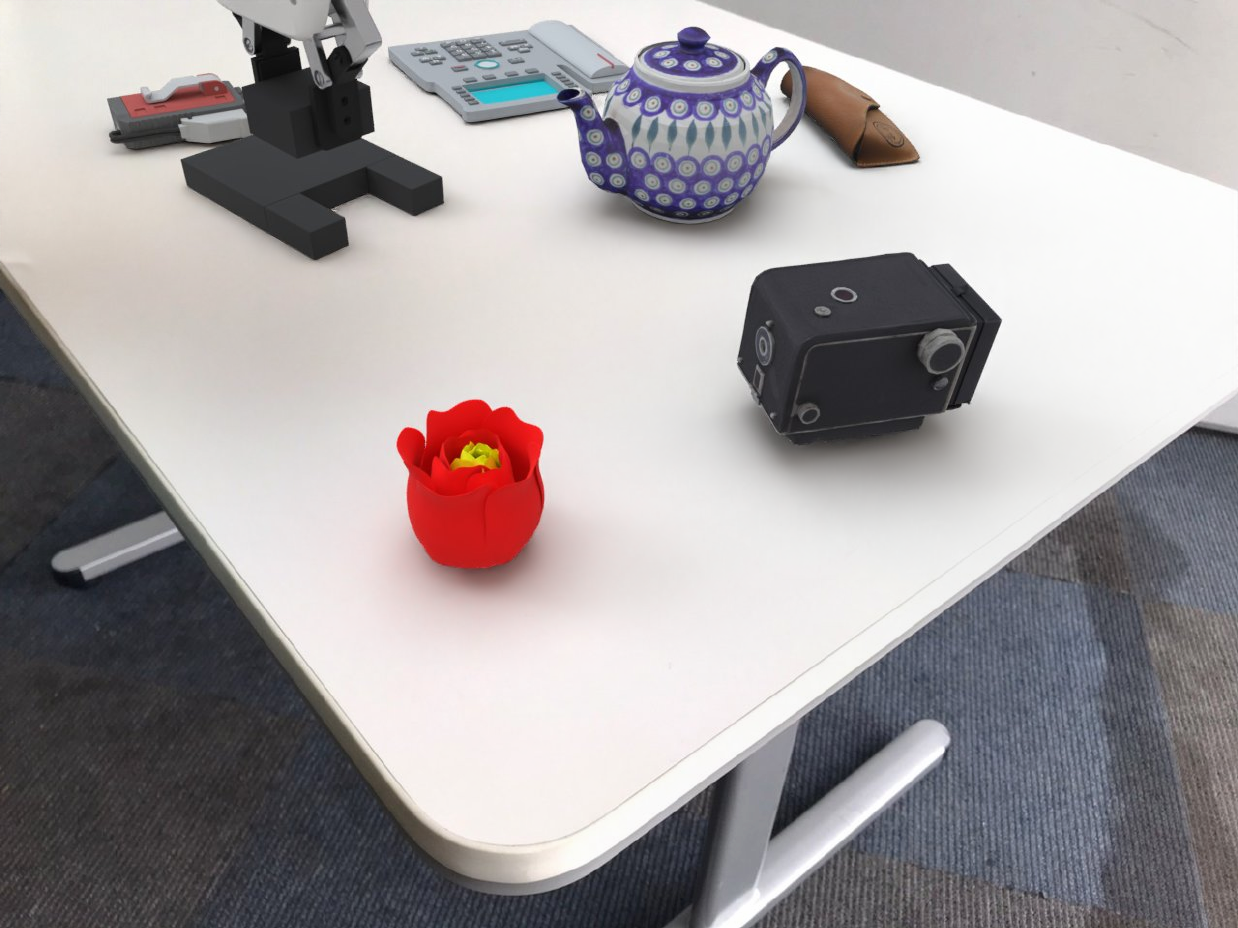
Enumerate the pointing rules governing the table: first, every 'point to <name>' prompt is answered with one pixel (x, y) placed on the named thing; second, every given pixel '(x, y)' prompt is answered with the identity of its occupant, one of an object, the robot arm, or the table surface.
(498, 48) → the office telephone
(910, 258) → the camera
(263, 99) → the small pad
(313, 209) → the big pad
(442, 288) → the table surface
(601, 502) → the table surface
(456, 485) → the flower
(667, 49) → the teapot
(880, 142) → the sunglasses case
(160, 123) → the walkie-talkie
